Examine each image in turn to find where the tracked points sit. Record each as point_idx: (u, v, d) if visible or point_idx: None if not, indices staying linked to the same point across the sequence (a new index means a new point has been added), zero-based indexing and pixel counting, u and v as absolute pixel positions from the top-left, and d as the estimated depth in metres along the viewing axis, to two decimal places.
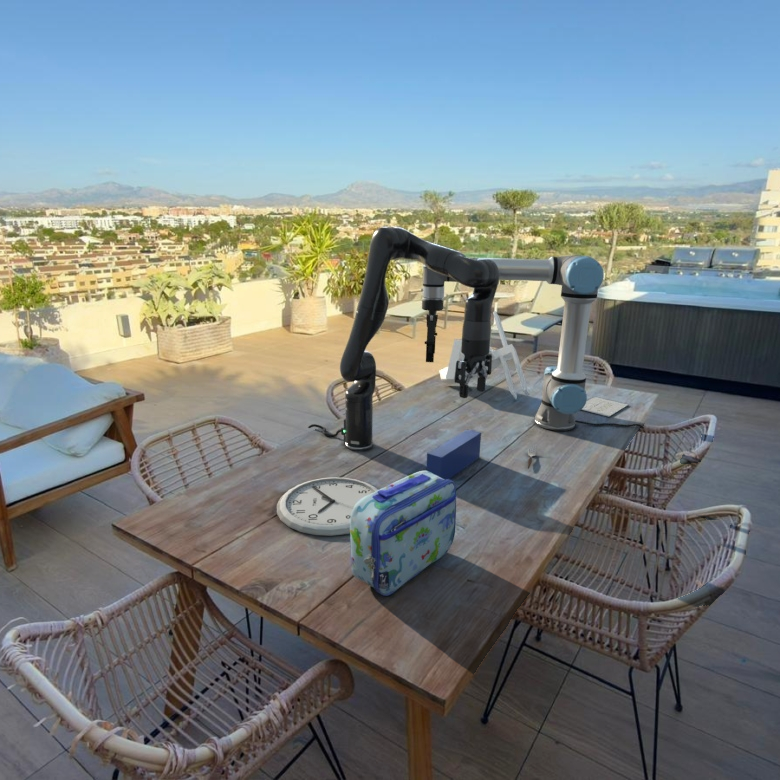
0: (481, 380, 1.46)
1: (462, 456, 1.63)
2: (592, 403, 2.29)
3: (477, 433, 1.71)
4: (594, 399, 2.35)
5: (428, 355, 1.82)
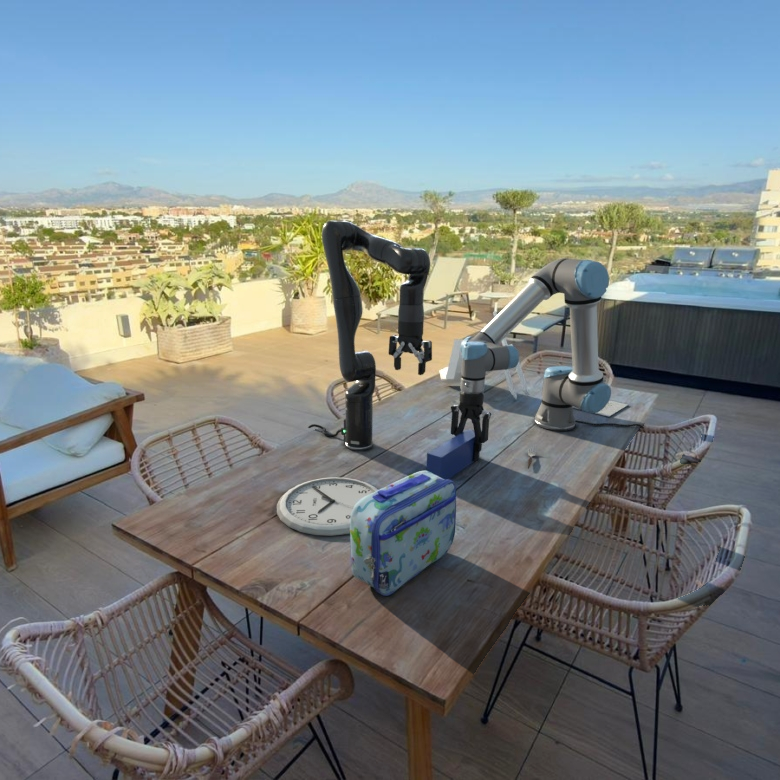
0: (399, 359, 1.60)
1: (462, 456, 1.63)
2: None
3: None
4: None
5: (476, 454, 1.70)
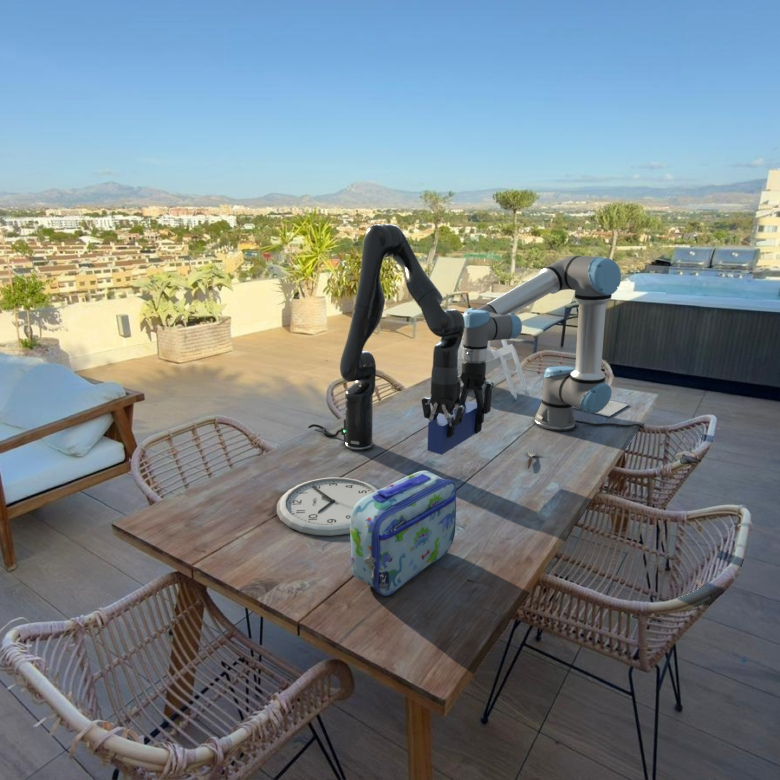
0: None
1: (464, 426, 1.60)
2: None
3: None
4: None
5: (478, 425, 1.67)
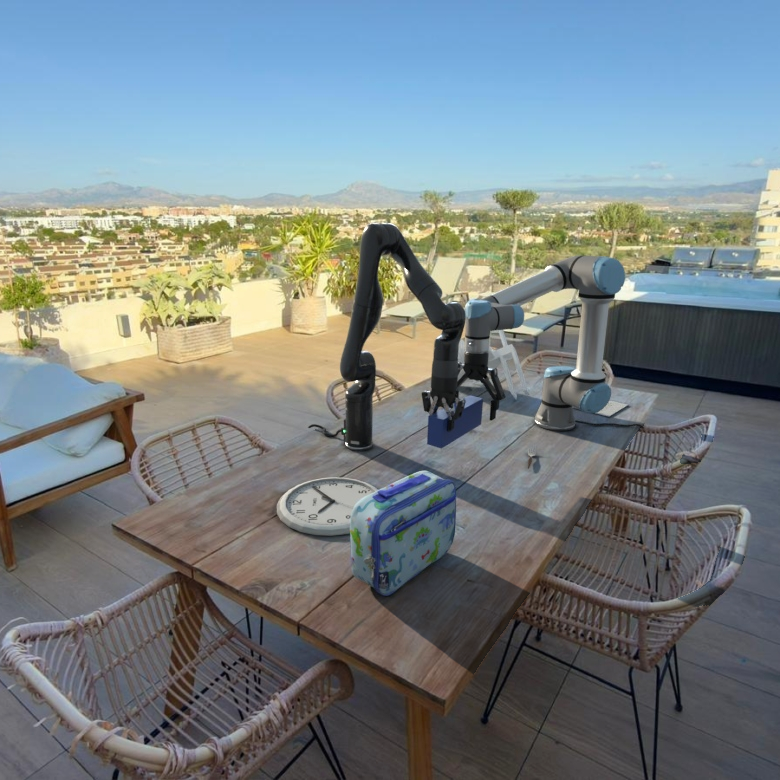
0: None
1: (464, 420, 1.60)
2: None
3: (479, 398, 1.67)
4: None
5: (493, 412, 1.64)
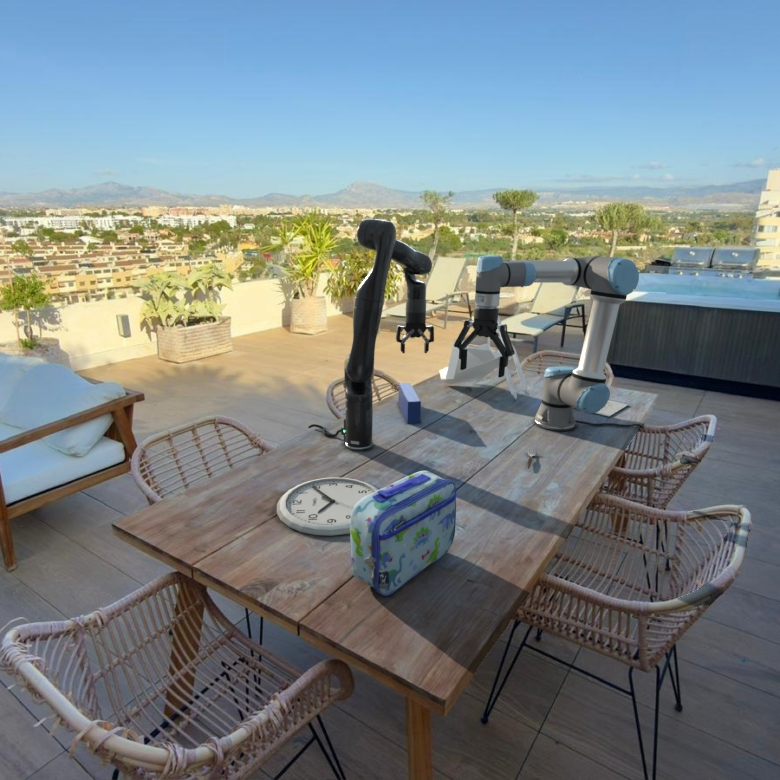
0: None
1: None
2: None
3: (409, 383, 2.23)
4: None
5: (502, 369, 1.64)
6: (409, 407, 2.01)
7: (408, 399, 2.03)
